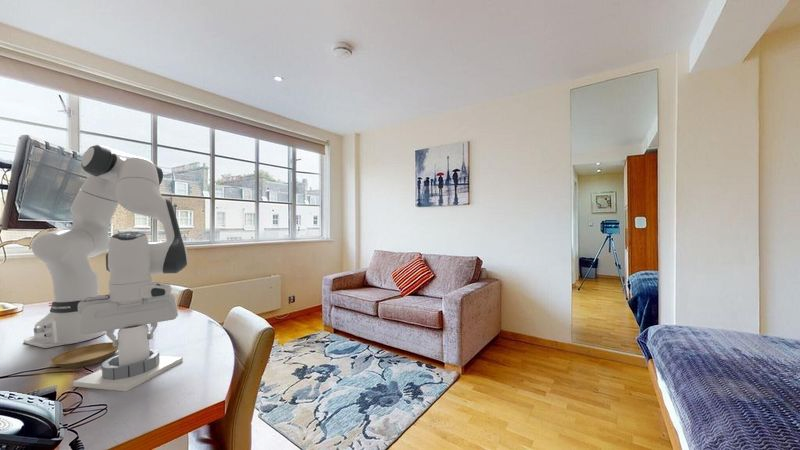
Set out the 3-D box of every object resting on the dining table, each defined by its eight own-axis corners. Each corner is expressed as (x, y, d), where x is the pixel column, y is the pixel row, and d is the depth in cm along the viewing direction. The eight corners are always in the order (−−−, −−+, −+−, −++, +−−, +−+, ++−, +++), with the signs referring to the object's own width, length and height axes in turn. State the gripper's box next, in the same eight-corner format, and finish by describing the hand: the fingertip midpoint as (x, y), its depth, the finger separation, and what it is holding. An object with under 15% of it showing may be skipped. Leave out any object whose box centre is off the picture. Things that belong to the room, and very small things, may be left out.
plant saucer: (63, 377, 83) (63, 367, 83) (41, 366, 90) (41, 357, 89) (130, 355, 97) (130, 346, 96) (107, 347, 103) (106, 339, 103)
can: (130, 374, 81) (128, 329, 81) (113, 371, 83) (111, 327, 82) (155, 362, 88) (154, 321, 87) (138, 360, 89) (137, 319, 89)
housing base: (73, 386, 78) (72, 369, 78) (136, 358, 94) (136, 344, 94) (126, 391, 75) (125, 374, 75) (182, 361, 91) (182, 347, 91)
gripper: (73, 300, 76) (76, 356, 76) (176, 288, 87) (178, 336, 88) (80, 295, 81) (82, 348, 81) (176, 284, 93) (178, 330, 93)
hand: (133, 342), depth 84 cm, fingers closed on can, 5 cm apart
